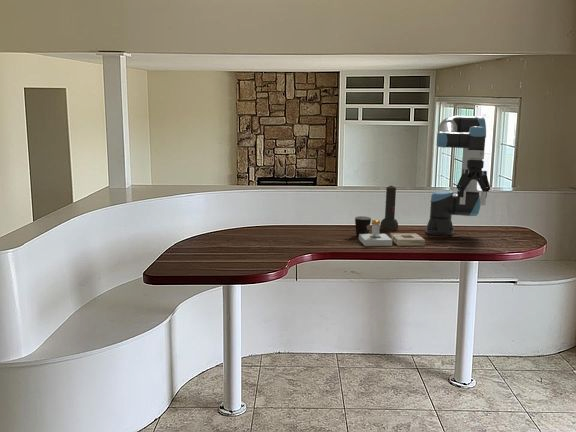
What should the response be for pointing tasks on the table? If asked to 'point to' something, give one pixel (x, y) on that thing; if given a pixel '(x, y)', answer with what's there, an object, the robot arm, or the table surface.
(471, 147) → the robot arm
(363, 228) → the coffee mug
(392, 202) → the flashlight
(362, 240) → the mount block
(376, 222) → the pin
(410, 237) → the block
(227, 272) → the table surface
